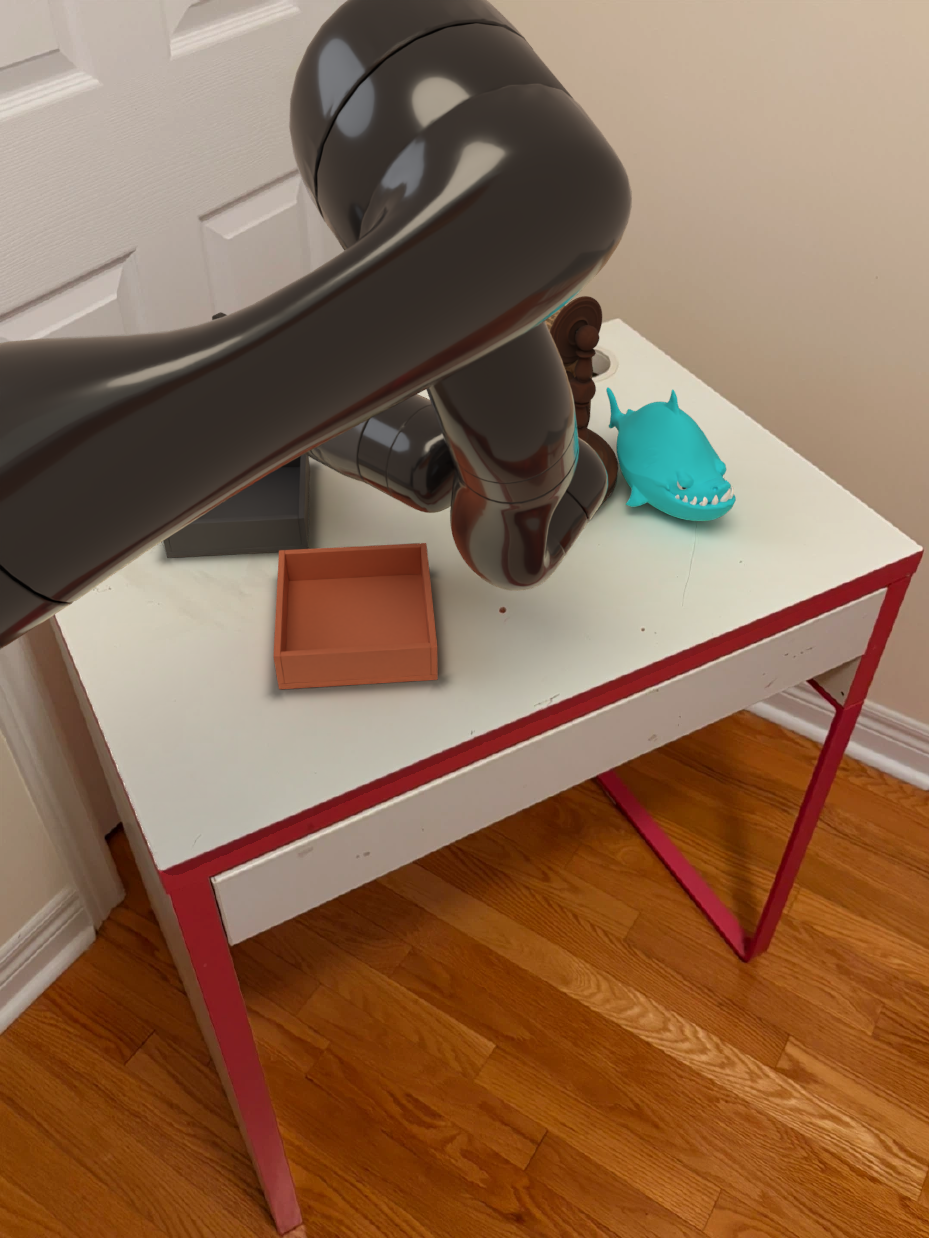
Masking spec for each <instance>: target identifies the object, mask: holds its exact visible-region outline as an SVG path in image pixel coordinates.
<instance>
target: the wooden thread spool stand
mask: <svg viewBox="0 0 929 1238" xmlns="http://www.w3.org/2000/svg"><path fill="white" fill-rule="evenodd" d="M545 322H546V324H547V326H548V329H549V331H550V333H551V335H552V337H553V340H554V342H555V344H556V347H557V349H558V351H559V354H560V356H561V359H562V361H563V364H564V367H565V370H566V373H567V377H568V380H569V383H570V387H571V390H572V394H573V399H574V405H575V414H576V422H577V431H578V437H579V438H581V439H582V440H583V441H585V442H586V443H587V444H588V445H589V446H590V447H592V448H593V449H594V450H595V452H596V453H597V454H598V456H599V457H600V459H601V460H602V462H603V464H604V466H605V469H606V471H607V475H608V488H607V493H606V495H605V497H604V499H603V501H602V503H601V504H603V503H604V502H605V501H606V500H607V499H608V498H609V497H610V496H611V494H612V493H613V492H614V490H615V488H616V485H617V482H618V473H619V462H618V457H617V453H615V451H614V449H613V447H612V446H611V445H610V443H608V442H607V441H606V439H604V437H602V436H601V435H599V434H598V433H597V432H595V431H593V430H592V429H590V428H589V425H590V421H591V409H592V399H594V397H595V395H596V392H597V387H596V383H595V382H594V380H593V374H594V367H593V357H595V356H596V353H597V352H596V350H595V348H596V347H597V345H598V344H599V342H600V332H601V328H602V324H603V310H602V306H601V305H600V303H599V302H598V300H597V299H596V298H594V297H592V296H587V295H583V296H579V297H575V298H573V299H572V300H570V301H569V302H568V303H567V304H566V305H564V306H563V307H562V308H561V309H559V310H558V311H557V312H556V313H554V314H553V315H552V316H551V317H549V318H548V319H547V320H546V321H545Z"/></svg>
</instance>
